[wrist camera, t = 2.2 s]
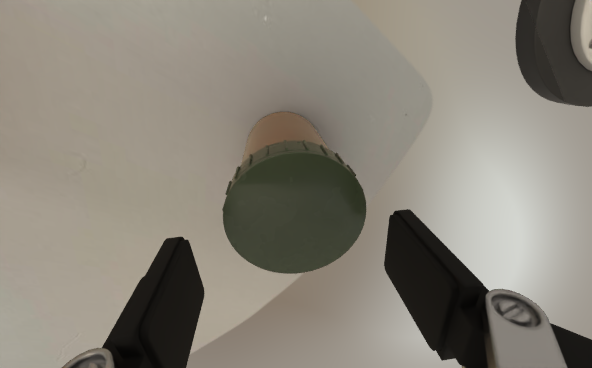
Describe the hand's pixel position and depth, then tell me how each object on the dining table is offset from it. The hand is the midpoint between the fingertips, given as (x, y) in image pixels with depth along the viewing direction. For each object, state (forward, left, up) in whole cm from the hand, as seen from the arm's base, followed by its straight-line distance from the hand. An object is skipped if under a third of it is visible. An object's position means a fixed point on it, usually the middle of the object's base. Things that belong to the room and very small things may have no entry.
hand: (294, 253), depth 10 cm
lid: (0, 0, -2) cm, 3 cm away
